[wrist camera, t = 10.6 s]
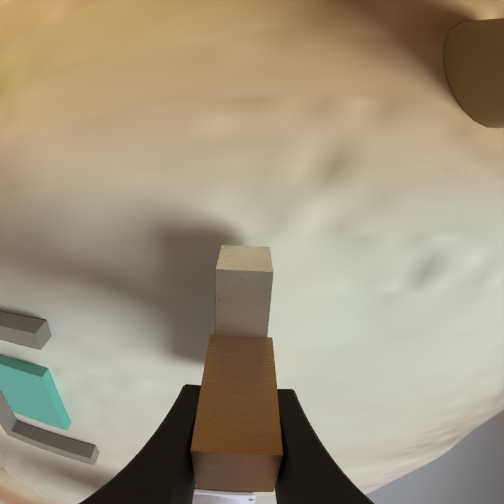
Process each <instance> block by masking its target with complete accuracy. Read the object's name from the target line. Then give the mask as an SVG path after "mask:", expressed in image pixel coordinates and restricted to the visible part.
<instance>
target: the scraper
mask: <svg viewBox="0 0 504 504" xmlns="http://www.w3.org/2000/svg"><path fill="white" fill-rule="evenodd" d="M272 280H273V267H272V261H271V255H270V248H269V247H253V246H233V245H221V249H220V253H219V257H218V261H217V266H216V284H215V335H210V339H209V344H208V350H207V356H206V361H205V367H204V373H203V378H202V384H201V390H200V396H199V402H198V408H197V414H196V420H195V426H194V432H193V438H192V445H191V457H192V463H193V469H194V475H195V481H196V487H197V489H208V490H221V491H241V492H274V488H275V484H276V480H277V476H278V473H279V469H280V465H281V461H282V456H283V450H282V438H281V427H280V416H279V405H278V394H277V383H276V372H275V362H274V351H273V341H272V338H268V337H267V333H268V323H269V312H270V302H271V291H272Z"/></svg>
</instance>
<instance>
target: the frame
mask: <svg viewBox="0 0 504 504" xmlns="http://www.w3.org/2000/svg"><path fill="white" fill-rule="evenodd" d="M50 337H51V334H50V330H49V327H48V323H47V320H42V319H36V318H31V317H26V316H21V315H16V314H11V313H7V312H2V311H0V340H4V341H8V342H11V343H15V344H19V345H23V346H27V347H31V348H35V349H39V350H41V349H42V347H43V346H44V345H45V344H46V342H47V341H48V340H49V338H50ZM0 424H1V426H2V427H3V429H4V430H5V432H6V433H7V435H9V436H12V437H14V438H16V439H19V440H21V441H24V442H26V443H28V444H31V445H34V446H36V447H39V448H42V449H44V450H47V451H50V452H53V453H56V454H59V455H62V456H65V457H68V458H71V459H74V460H78V461H81V462H84V463H88V464H92V465H95V463H96V460H97V457H98V455H99V451H98V449H97V447H96V445H92V444H88V443H84V442H80V441H77V440H73V439H70V438H67V437H63V436H60V435H57V434H54V433H51V432H48V431H45V430H42V429H39V428H36V427H33V426H31V425H28V424H25V423H22V422H20V421H17V419H16V418H15V416H14V414H13V412H12V411H11V409H10V407H9V405H8V404H7V402H6V400H5V398H4V396H3V395H2V393H1V391H0Z"/></svg>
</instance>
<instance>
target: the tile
mask: <svg viewBox="0 0 504 504" xmlns="http://www.w3.org/2000/svg"><path fill="white" fill-rule="evenodd" d="M0 389H1V391H2V393H3V395H4V397H5V399H6V401H7V402H8V404H9V406H10V408H11V410H12V411H13V412H15V413H18V414H20V415H23V416H26V417H28V418H31V419H34V420H37V421H39V422H42V423H45V424H48V425H51V426H54V427H57V428H61V429H64V430H67V429H68V427H69V425H70V423H71V420H70V418H69V416H68V414H67V412H66V410H65V408H64V405H63V403H62V401H61V399H60V396H59V394H58V392H57V389H56V387H55V384H54V382H53V379H52V377H51V374H50V372H49V369H48V368H45V367H41V366H37V365H34V364H30V363H27V362H23V361H20V360H16V359H13V358H10V357H7V356H4V355H1V354H0Z"/></svg>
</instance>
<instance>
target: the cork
mask: <svg viewBox="0 0 504 504" xmlns="http://www.w3.org/2000/svg"><path fill="white" fill-rule="evenodd" d="M443 60H444V65H445V71H446V77H447V80H448V82H449V85H450V87H451V90H452V93H453V95H454V96H455V98H456V99H457V101H458V103H459V104H460V106H461V107H462V109H463V110H464V111H465V112H466V113H467V114H468V115H469V116H470V117H471V118H472V119H473V120H474V121H475V122H477V123H479V124H481V125H483V126H485V127H489V128H504V18H500V19H488V20H479V21H470V22H465V23H459V24H458V25H457V26H455V27H454V28H453V29H452V30H450V32H449V34H448V37H447V39H446V41H445V45H444V57H443Z"/></svg>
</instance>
